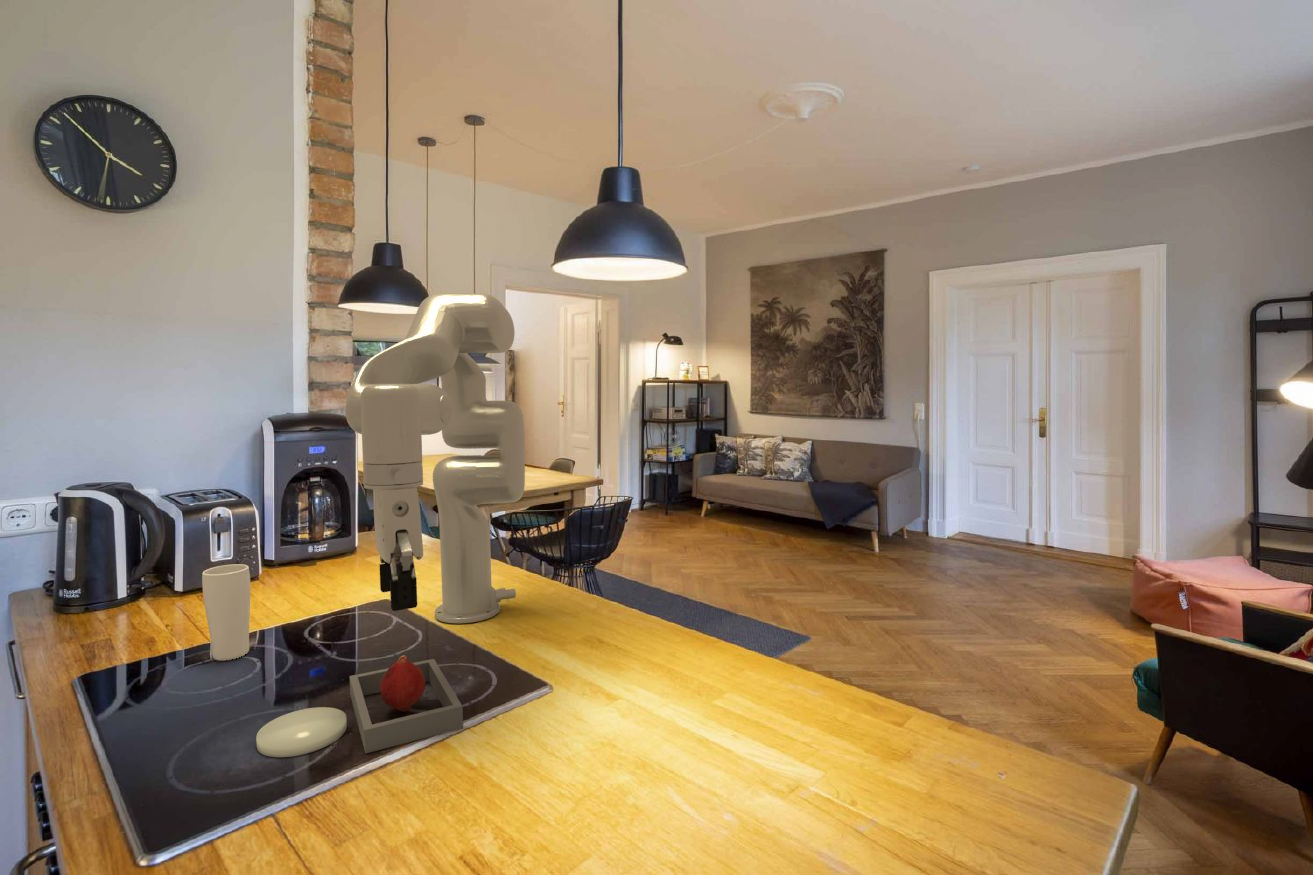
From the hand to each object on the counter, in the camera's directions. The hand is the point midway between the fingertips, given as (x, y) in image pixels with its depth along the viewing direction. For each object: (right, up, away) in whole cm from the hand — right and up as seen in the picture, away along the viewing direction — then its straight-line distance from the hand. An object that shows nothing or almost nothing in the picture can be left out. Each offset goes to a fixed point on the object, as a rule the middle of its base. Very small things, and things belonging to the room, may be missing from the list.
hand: (398, 599), depth 92 cm
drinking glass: (-37, -15, +22) cm, 45 cm away
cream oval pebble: (-11, -17, -5) cm, 20 cm away
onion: (0, -16, +2) cm, 16 cm away
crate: (0, -16, +2) cm, 16 cm away
